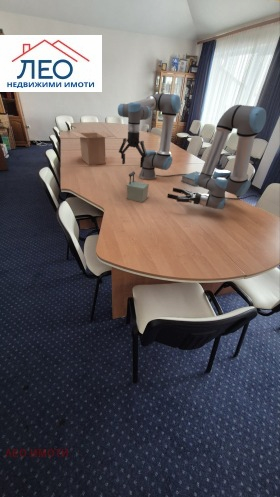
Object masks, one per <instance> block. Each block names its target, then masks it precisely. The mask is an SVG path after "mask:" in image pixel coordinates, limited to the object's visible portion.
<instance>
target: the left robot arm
mask: <svg viewBox="0 0 280 497" xmlns="http://www.w3.org/2000/svg"><path fill="white" fill-rule="evenodd" d="M181 108H182V100H181V97H180V96H179V94H174V93H161V92H160V93H159V92H158V93H155V94H152V95H148V96H147V97H146V98H144V99H140V100H136V101H132V102H129V103H119V105H118V107H117V114H118V116H119V117H122V118H127V138H126V137H124V138H122V143H121V145H120V147H119V149H118V153H119V154H120V156H121V157H120V158H121V159H122V163H121V164H122V165H124V164H126V151H127V150H128V149H129V148H133V149H134V148H135V149H136V150H137V151H138V152H139V155H140V156H141V157H140V162H139V163H140V164H139V168H141V169H140V172H139V178H140V179H142V180H146V181H154V180H156V178H157V177H163V178H165V177H177V176H183V175H186V174H187V173H180V174H178V173H177V174H171V175H170V174H169V175H158V174H156V169H160V170H163V171H167V170H169V169H170V168H171V166H172V164H173V156H172V153H171V151H170V150H171V142H172V137H173V136H172V135H173V129H174V128H173V127H174V124H175V123H174V122H175V118H177V117H178V116H177V115H178V114H180V112H181ZM153 111H154V112H155V111H156V112H160V113H161V116H162V124H161V132H160V140H159V141H160V142H159V149H158V150H153V149H151V150H150V149H149V150H147V149H146V147H145V146H146V145H145V142H144V140H140V130H141V121H146V120H148V119H150V117H151V116H152V112H153ZM125 145H126V146H125ZM212 177H213V175H212Z"/></svg>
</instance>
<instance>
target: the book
mask: <svg viewBox="0 0 280 497" xmlns="http://www.w3.org/2000/svg"><path fill="white" fill-rule="evenodd" d="M185 174H186V175H181V177H182V178H181V180H180V181H181V182H183V183H185V184H188V185H191V186H194V187H197V185H196V184H195V183H194V179H195V177H196V175H198V174H201V171H200V172H199V171H192V172H190V173H185Z"/></svg>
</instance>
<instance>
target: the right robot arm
mask: <svg viewBox="0 0 280 497" xmlns="http://www.w3.org/2000/svg"><path fill="white" fill-rule="evenodd" d="M266 121H267V112H266V109H265V108H264V107H260V106H257V105H245V104H235V105H232V106H231V107H229V108H228V109H227V110H225V111H224V113H223V114H222V115H221V116H220V118H219V120H218V122H217V124H216V127H215V134H214V136H213V139H212V142H211V145H210V148H209V150H208V153H207V155H206V158H205V162H204V163H203V166H202V169H201V171H200V173H201V174H198V175H196V177H195V179H194V183H195V184H196V185H197V186H198V187H199V188H202V189H205V190H207V193H201V192H194V191H192V190H189V189H186V188H182V189H181V188H177V187H172V192H174V193H178V194H181V195H178V194H177V195H176V194H172V193H167V196H166V197H167V199H171V200H175V201H176V203H189V204H192V202H193V204H194V205H200V206H202V207H208V208H211V209H214V210H223V209H224V207H225V204H226V200H243V199H247V198H249V197H255V198H258V196H257V195H256V194H251V195H246V196H244V195H245V194H246V193H247V192H248V190H249V189H250V188H251V185H252V182H251V181H252V180H250V179H249V177H250V176H249V174H248V169H249V165H250V160H251V155H252V151H253V147H254V141H255V137H256V136H258V135H259V133H260V132H262V131H263V129H264V127H265V124H266ZM234 129H236V136H237V137H238V139H237V143H236V144H237V146H236V151H235V157H234V163H233V168H232V169H233V170H232V171H230V170H227V169H217V170H216V167H217V165H218V162H219V159H220V157H221V154H222V152H223V149H224V148H225V144H226V142H227V140H228V137H229V135H230V134H232V132H233V130H234ZM212 175H213V176H212ZM197 186H196V187H197ZM226 193H229V194H231V195H233V196H236V197H226Z"/></svg>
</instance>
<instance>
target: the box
mask: <svg viewBox="0 0 280 497" xmlns="http://www.w3.org/2000/svg"><path fill="white" fill-rule="evenodd" d="M70 133H71V134H72V135H74V136H75V137H77V138H79V144H80V153H81V160H83V162H85V163H86V165H87V166H95V165H97V166H98V165H106V163H107V162H106V158H107V157H106V138H113V137H114V136H113V135H111V134H109V133H108V132H105V131H98V132H96V131H95V130H92V129H91V130H77V132H76V131H70Z"/></svg>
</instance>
